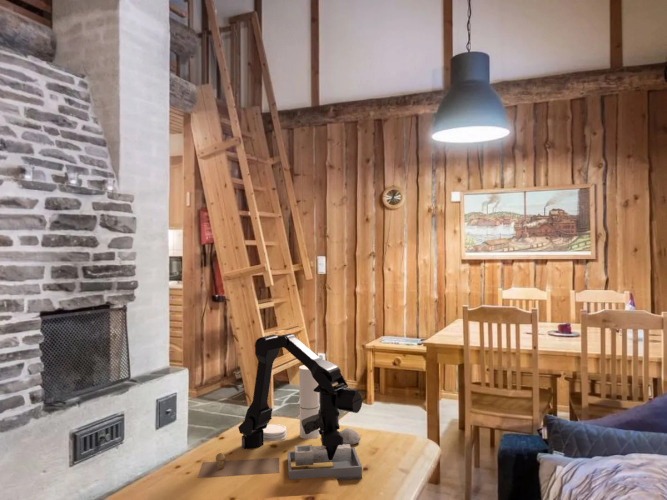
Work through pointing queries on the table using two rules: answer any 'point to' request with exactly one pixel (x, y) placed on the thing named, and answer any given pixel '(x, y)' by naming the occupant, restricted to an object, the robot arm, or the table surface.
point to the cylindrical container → (307, 400)
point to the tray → (329, 469)
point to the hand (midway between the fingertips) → (329, 457)
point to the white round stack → (274, 432)
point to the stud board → (238, 467)
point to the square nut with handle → (320, 454)
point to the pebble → (350, 436)
